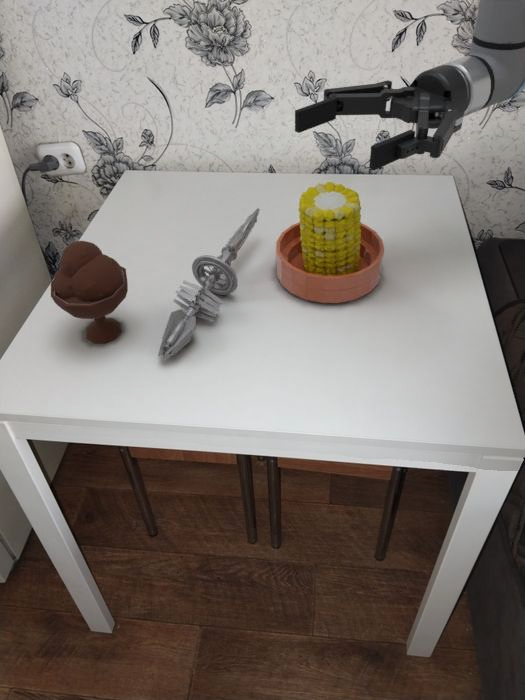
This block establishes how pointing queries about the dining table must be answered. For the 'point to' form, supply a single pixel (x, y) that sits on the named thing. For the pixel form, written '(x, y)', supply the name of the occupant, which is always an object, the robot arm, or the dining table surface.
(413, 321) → the dining table surface
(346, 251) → the food
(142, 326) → the dining table surface
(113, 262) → the ice cream bowl
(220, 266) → the spaceship
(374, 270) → the terracotta bowl
